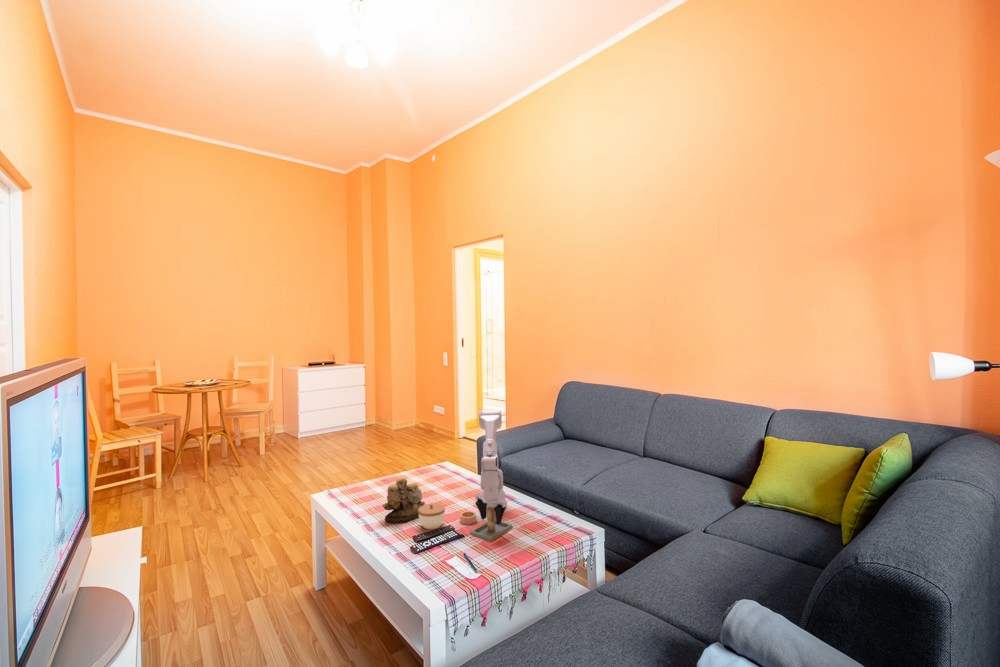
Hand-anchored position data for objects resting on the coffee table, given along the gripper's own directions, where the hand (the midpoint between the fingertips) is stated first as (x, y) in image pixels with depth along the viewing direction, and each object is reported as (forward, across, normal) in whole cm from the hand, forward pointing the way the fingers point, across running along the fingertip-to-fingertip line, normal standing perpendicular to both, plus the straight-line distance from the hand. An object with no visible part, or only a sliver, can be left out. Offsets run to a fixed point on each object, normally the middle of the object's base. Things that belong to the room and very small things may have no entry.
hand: (491, 521), depth 183 cm
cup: (+5, -14, +2) cm, 15 cm away
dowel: (+4, 0, 0) cm, 4 cm away
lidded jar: (+5, -23, -10) cm, 26 cm away
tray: (+4, 0, 0) cm, 4 cm away
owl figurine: (+5, -40, -10) cm, 42 cm away
